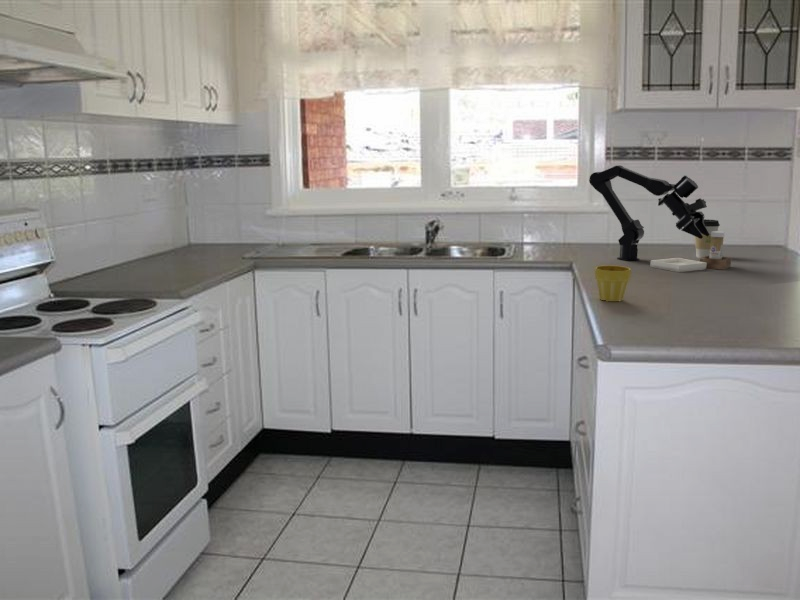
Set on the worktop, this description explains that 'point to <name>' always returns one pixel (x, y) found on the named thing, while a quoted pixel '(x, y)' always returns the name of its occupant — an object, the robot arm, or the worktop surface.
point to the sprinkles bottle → (716, 245)
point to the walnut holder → (717, 262)
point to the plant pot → (612, 281)
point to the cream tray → (678, 264)
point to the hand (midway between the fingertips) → (705, 236)
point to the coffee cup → (705, 239)
